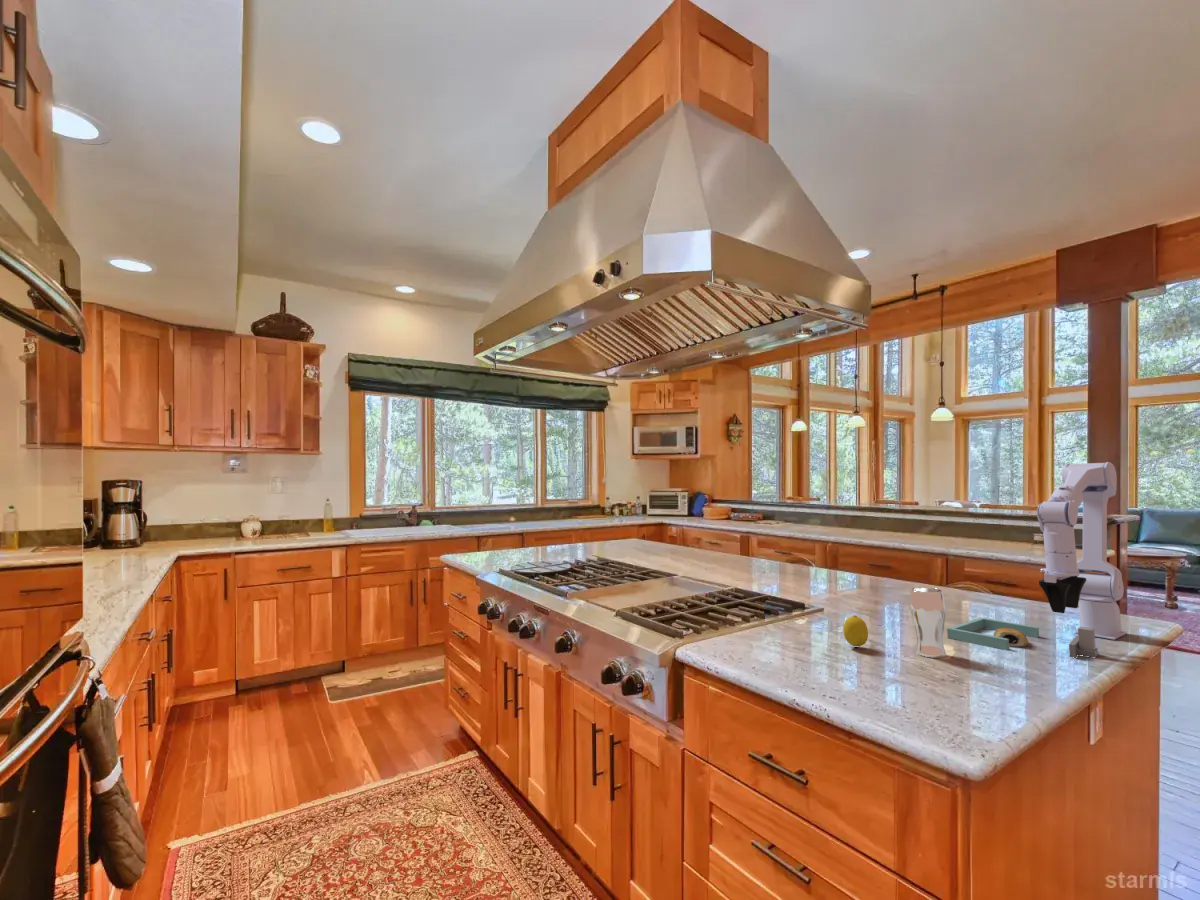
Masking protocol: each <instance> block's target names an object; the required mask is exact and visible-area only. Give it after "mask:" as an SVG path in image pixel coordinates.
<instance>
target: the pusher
mask: <svg viewBox="0 0 1200 900" xmlns="http://www.w3.org/2000/svg"><path fill="white" fill-rule="evenodd" d="M1077 630H1078V635H1075V636H1074V638H1073V639H1072V640H1071V641H1070V642H1069V644H1068V648H1069V649H1068V651H1069V658H1070V657H1074V658H1076V657H1077V655H1083V656H1089V657H1096V656H1097V655H1099V647H1096V645H1097V644H1096V637H1095V632H1094V628H1087V627H1080V626H1079V627H1078V628H1077ZM1083 656H1082V657H1083ZM1089 657H1088V658H1089ZM1097 657H1098V656H1097ZM1097 657H1096V658H1097ZM1074 658H1073V659H1074ZM1077 658H1078V657H1077ZM1077 658H1076V659H1077Z"/></svg>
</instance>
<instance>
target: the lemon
mask: <svg viewBox="0 0 1200 900" xmlns="http://www.w3.org/2000/svg"><path fill="white" fill-rule="evenodd" d="M842 631H843V636H844V639H845V641H846V642H847V643H848V644H849V645H851V646H853V647H854V646H859V647H861V646H863V645H865V644H866V642H867V641H868V638H869V631H868V626H867V623H866V622H865V620H864V619H862V618H861V617H858V616H857V615H856V614H853V615H852V616H850V617H848V618H846V620H845V621H844V623H843V629H842Z"/></svg>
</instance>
